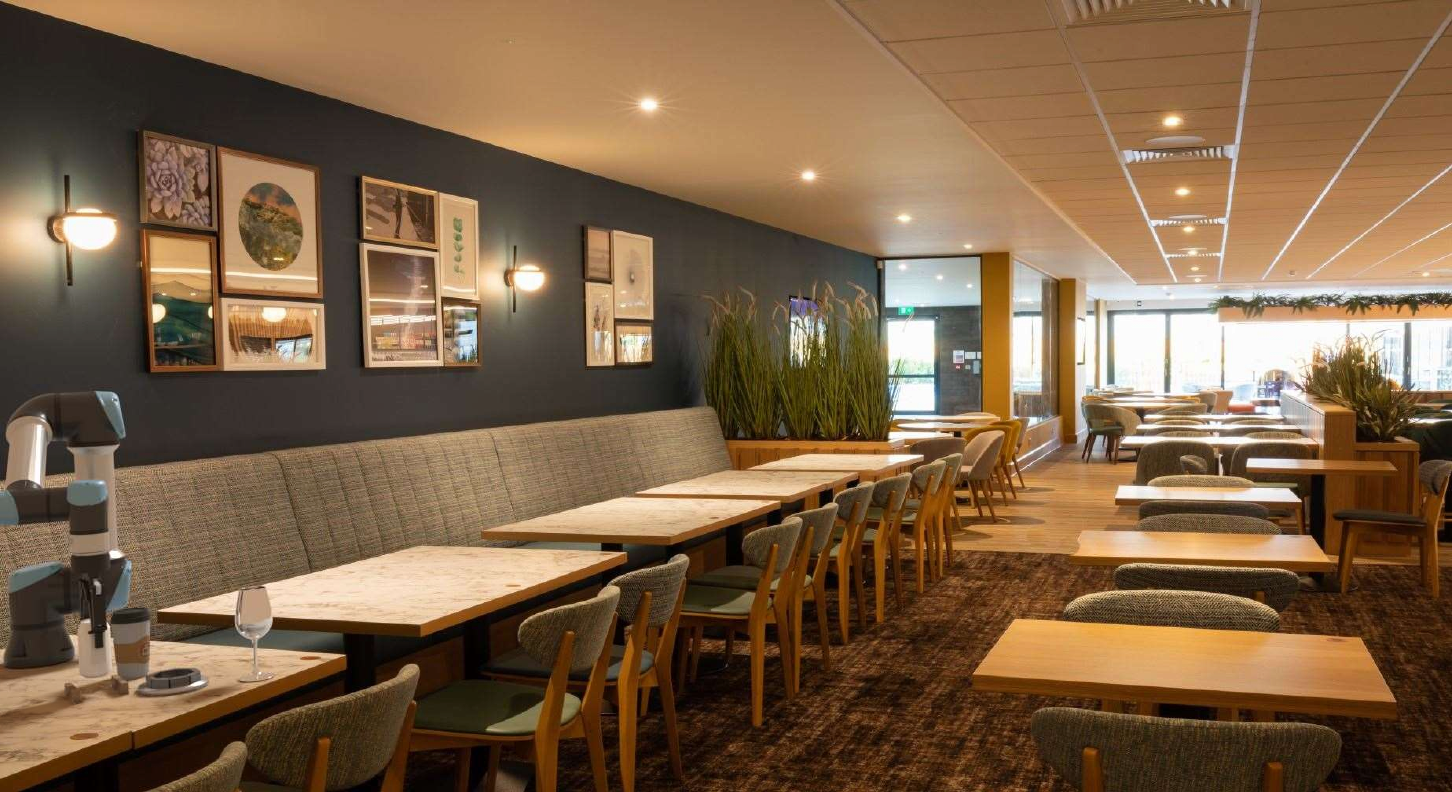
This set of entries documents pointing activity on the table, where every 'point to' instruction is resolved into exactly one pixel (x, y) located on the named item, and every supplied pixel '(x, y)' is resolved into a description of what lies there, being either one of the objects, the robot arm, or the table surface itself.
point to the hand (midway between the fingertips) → (95, 659)
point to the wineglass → (253, 623)
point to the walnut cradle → (117, 684)
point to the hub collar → (173, 682)
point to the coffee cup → (131, 642)
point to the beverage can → (85, 652)
